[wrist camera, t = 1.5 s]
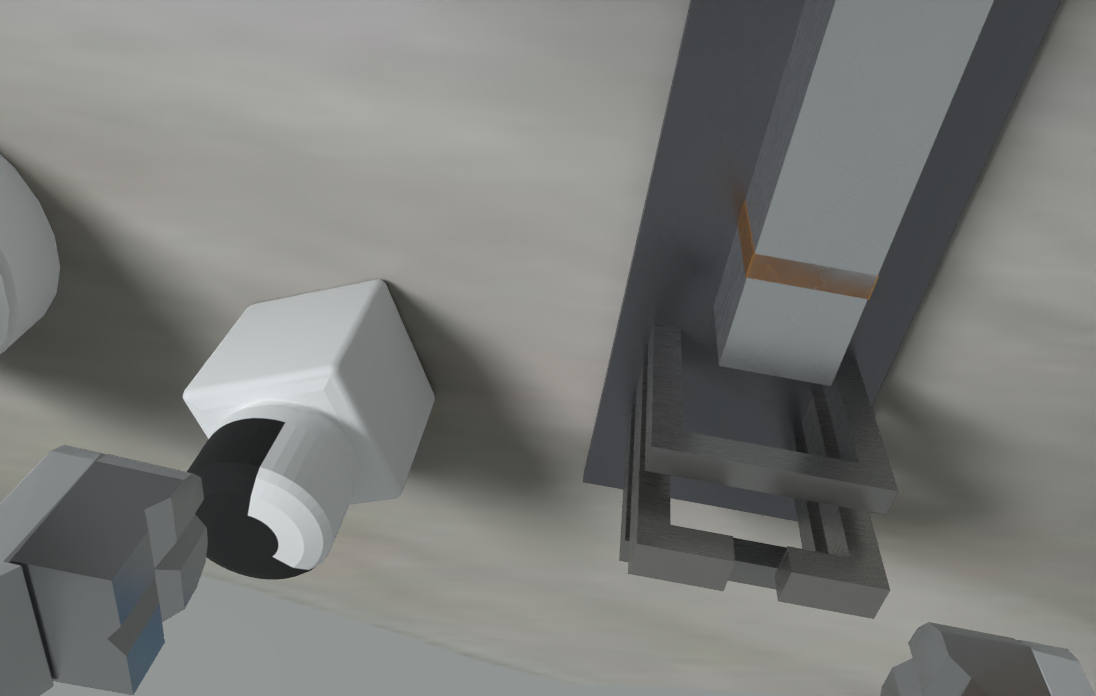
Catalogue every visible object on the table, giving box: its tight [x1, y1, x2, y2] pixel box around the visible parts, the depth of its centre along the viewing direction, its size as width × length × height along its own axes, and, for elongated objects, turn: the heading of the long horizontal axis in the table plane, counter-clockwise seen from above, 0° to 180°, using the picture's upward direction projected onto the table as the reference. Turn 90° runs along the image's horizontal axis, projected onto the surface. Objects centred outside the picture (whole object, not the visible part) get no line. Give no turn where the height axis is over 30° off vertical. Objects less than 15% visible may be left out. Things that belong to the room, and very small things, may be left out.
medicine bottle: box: [183, 279, 435, 579], centre depth 36 cm, size 7×7×12 cm
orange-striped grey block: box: [714, 0, 994, 386], centre depth 30 cm, size 16×4×4 cm, turn 172°
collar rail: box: [583, 0, 1061, 619], centre depth 31 cm, size 27×12×11 cm, turn 172°
